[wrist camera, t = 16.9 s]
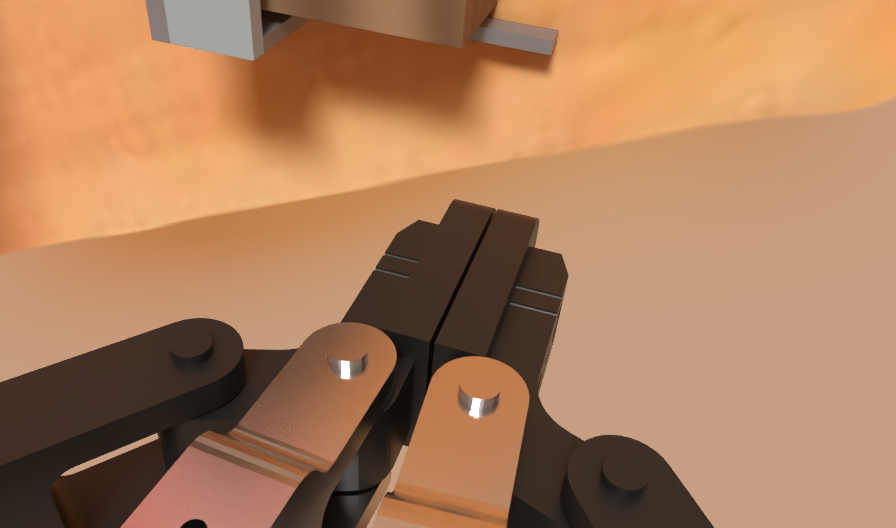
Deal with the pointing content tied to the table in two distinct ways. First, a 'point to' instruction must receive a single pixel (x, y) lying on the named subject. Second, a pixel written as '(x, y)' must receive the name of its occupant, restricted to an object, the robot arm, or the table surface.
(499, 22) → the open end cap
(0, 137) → the table surface
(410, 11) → the walnut slat
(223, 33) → the socket end cap
